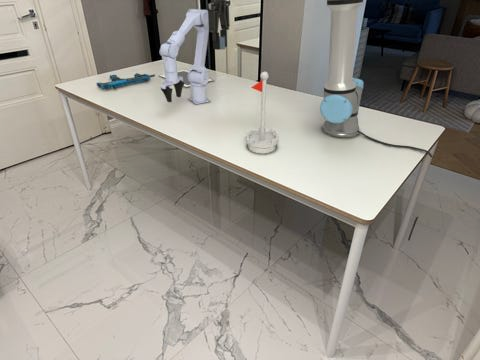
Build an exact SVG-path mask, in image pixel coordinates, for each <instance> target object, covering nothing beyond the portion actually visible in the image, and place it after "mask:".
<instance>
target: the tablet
mask: <svg viewBox="0 0 480 360" xmlns="http://www.w3.org/2000/svg"><path fill="white" fill-rule="evenodd" d="M189 71H190V70H187V69H182V70H181V69H180V70H177V74H178V77H179V76H180V77H183V81H182V82H184V86H183V88H190V86H191V84H190V82H189V81H188V73H189ZM158 76H159V77H161V78H163V79H164V80H165V79H166V77H165V73H163V74H158ZM210 82H214V80H213V79H211V78H209V80H208V83H210Z"/></svg>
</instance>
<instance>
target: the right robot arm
mask: <svg viewBox="0 0 480 360" xmlns="http://www.w3.org/2000/svg"><path fill="white" fill-rule="evenodd" d="M363 3H364V0H326V6H327V7H328V9H329V10H330V27H329V28H330V31H329V54H328V55H329V57H328V78H327V82H326V83H325V84H324V85H323V99H322V100H321V102H320V106H319V111H320V114H321V116H322V117H323V118H324V119H325V121H324V123H323V126H322V130H323V132H324V133H325V134H326V135H329V136H332V137H335V138H339V139H341V138H342V139H349V138H354V137H356V136H357V135H359V134H360V135H362V136H363V137H365V138H367V139H369V140H371V141H373V142H375V143H379V144H382V145H385V146H389V147H395V148H406V149H411V150H412V149H413V150H416V151H421V152H423V153H426V154H427V155H428V156H429V157H430V158H434V156H433V154H432V153H431V152H430V151H428V150H427V149H424V148H419V147H415V146H411V145H402V144H401V145H400V144H392V143H388V142H384V141H381V140H378V139H375V138H373V137H370V136H368V135H367V134H365V133H364V132H363V131H360V125H359V118H358V117H359V116H358V114H359V111H360V110H359V109H360V105H361V99H362V95H363V90H364V84H365V82H364V80H362V79H360V78H356V77H353V75H354V63H355V50H356V37H357V24H358V23H357V22H358V11H359V10H358V9H359V8H360V7H361V6H362V5H363ZM206 7H207V11H208V22H209V33H212V49H213V50H216V51H217V50H218V51H219V50H220V51H221V49H220V40H219V36H225V38H226V48H227V47H228V33H227V32H228V31H229V30H230V26H231V25H230V0H210V3H207V4H206ZM219 24H220V29H219ZM418 219H419V216H416V217H415V219H414V222H413V224H412V227H411V229H410V232H409V234H408V235H409V236H408V238H407V241H410V240H411V237H412V235H413V232H414V229H415V226H416V225H417V221H418Z"/></svg>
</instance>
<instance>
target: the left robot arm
mask: <svg viewBox="0 0 480 360" xmlns="http://www.w3.org/2000/svg"><path fill="white" fill-rule="evenodd" d="M193 27H194V28H195V29H196V31H197V35H196V44H195V53H194V60H193V65H191V66H190V67H189V70H188V71H189V73H188V81H189V82H190V84H191V86H190V87H189V90H190V91H189V92H190V97H189V98H188V99H189V100H190V101H191V102H192V103H193V104H194V105H199V104H204V103H210V100H208V98H207V84H208V83H209V82H208V80H209V79H210V77H209V70H208V68H206V65H205V64H206V56H207V50H208V43H209V42H208V41H209V33H210V31H209V22H208V9H197V8H189V9H188V11H187V12H186V14H185V19H184V21H183V22H182V24H181V26H180V27H179V29H178V30H174V31H172V34H171V36H170V37H169V38H168V39H167V41H166V42H165V43H162V44H161V45H160V47H159V52H158V53H159V55H160V56H161V60H162V61H163V69H164V74H165V77H166V79H165V78H164V82H163V83H161V84H160V90H161V92H162V93H163V95H164V97H165V99H166V102H167V103H172V101H173V95H172V94H173V90H174V91H175V96H176V97H177V98H181V97H182V92H183V89H184V82H182V81H183V77H180V76H179V77H178V74H177V71H178V63H177V56H178V55H179V51H180V48H181V46H182V45H183V43H184V42H185V40H186V37H185V36H186V35H187V34H188V33H189V32H190V30H191V29H192V28H193ZM171 86H173V87H174V89H173V88H171Z"/></svg>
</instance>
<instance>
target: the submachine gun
mask: <svg viewBox="0 0 480 360" xmlns="http://www.w3.org/2000/svg"><path fill="white" fill-rule="evenodd" d="M154 77H156V74H147V73H142V74H141V73H139V72H137V73H135V74H133V77H128V78H121V77H119V76H118V75H117V74H110V75H109V79H111V81H107V82H96V83H95V84H96V87H98V88H99V89H101V90H102V91H103V90H109V89H113V90H116V88H118V87H119V88H120V87H122V86H127V85H133V84H138V83H142V82H148V81H149V80H150V79H151V78H154Z"/></svg>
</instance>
